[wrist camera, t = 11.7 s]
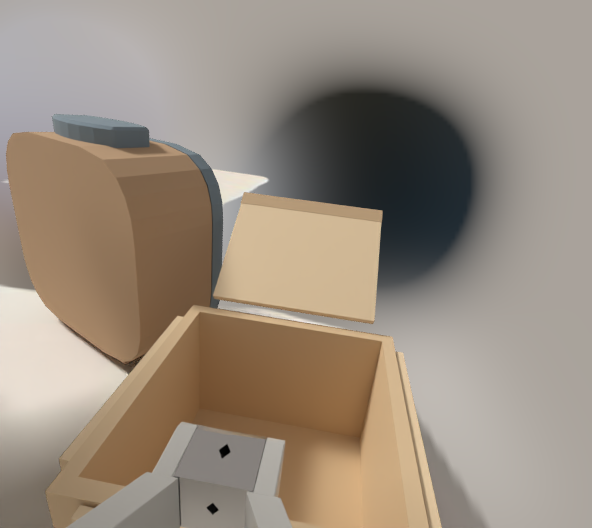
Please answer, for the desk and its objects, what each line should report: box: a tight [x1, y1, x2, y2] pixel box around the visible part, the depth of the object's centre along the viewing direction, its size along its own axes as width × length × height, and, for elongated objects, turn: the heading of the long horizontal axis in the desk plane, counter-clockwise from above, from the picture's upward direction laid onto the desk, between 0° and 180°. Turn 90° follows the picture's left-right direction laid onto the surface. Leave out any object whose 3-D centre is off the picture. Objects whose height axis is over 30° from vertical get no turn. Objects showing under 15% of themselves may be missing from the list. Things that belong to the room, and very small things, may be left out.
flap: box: [213, 192, 382, 324], centre depth 30 cm, size 1×12×10 cm
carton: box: [45, 305, 442, 528], centre depth 22 cm, size 16×16×10 cm
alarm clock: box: [6, 114, 223, 365], centre depth 37 cm, size 21×10×22 cm, turn 55°
